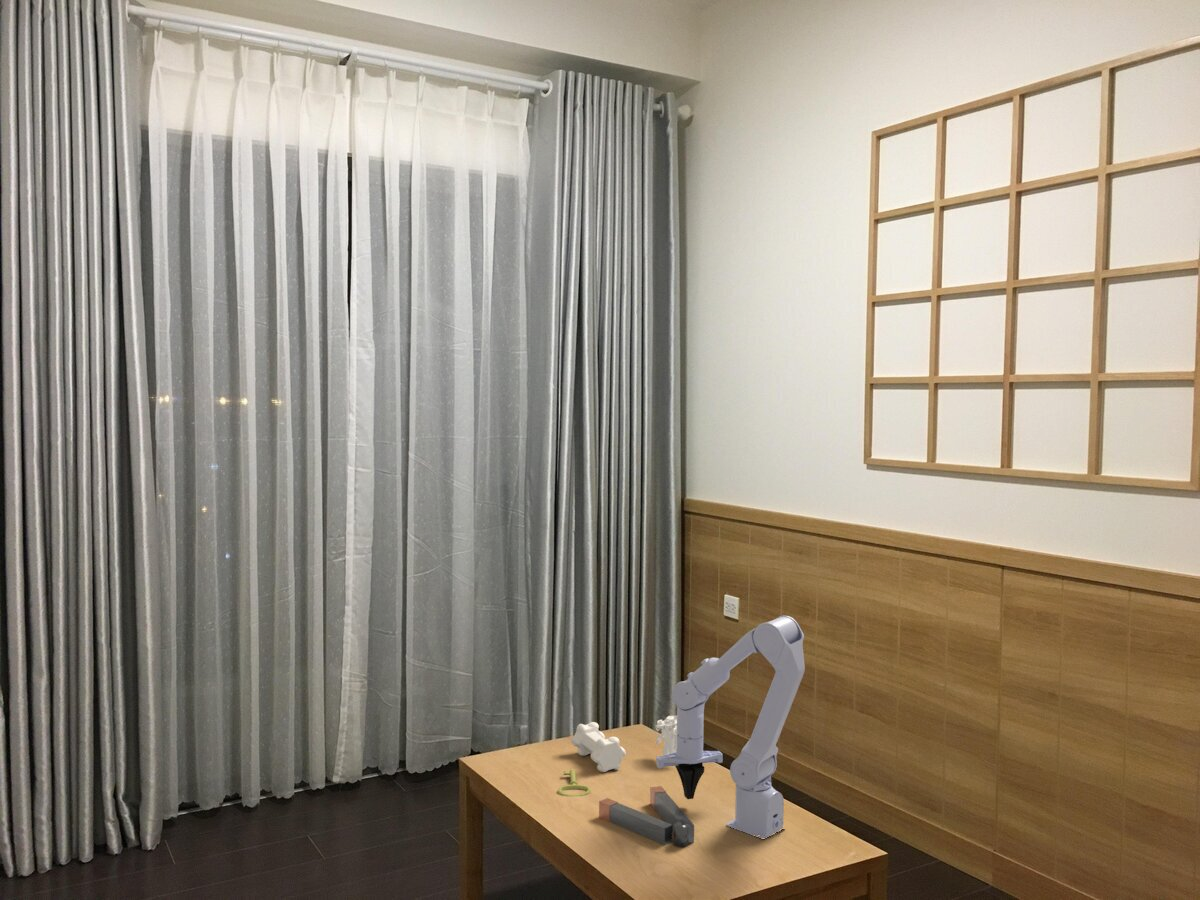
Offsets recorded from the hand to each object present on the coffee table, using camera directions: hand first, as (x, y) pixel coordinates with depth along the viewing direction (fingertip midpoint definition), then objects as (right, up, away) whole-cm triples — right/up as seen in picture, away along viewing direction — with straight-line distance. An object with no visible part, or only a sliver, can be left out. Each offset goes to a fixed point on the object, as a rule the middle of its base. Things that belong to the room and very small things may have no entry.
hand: (688, 797), depth 207 cm
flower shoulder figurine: (-2, -1, +28) cm, 28 cm away
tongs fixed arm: (-12, -3, -11) cm, 16 cm away
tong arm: (-5, -2, -8) cm, 10 cm away
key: (-25, -2, +11) cm, 28 cm away
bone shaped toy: (-20, -1, +27) cm, 33 cm away
